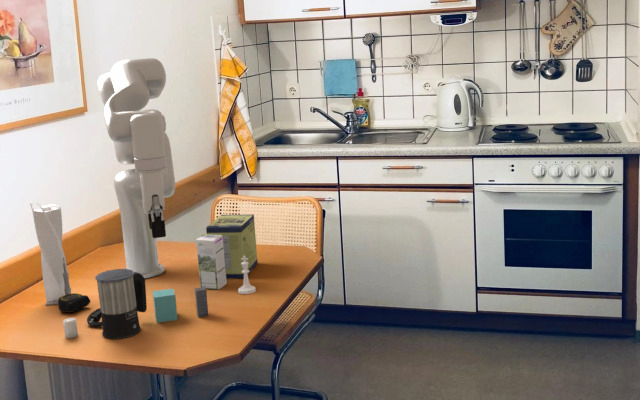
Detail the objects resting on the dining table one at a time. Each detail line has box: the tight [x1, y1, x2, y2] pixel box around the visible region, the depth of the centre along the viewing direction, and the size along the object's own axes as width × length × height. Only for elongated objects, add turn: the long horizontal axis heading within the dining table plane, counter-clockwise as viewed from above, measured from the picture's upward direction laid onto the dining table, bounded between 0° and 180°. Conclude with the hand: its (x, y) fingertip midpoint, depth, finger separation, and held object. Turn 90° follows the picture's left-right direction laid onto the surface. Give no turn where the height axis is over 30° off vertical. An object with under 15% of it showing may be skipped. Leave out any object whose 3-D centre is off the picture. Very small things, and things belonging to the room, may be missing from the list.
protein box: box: [205, 214, 258, 280], centre depth 241 cm, size 10×16×16 cm
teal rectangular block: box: [152, 288, 178, 324], centre depth 206 cm, size 5×5×7 cm
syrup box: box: [195, 234, 228, 290], centre depth 227 cm, size 6×6×14 cm
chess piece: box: [237, 256, 257, 295], centre depth 222 cm, size 5×5×10 cm
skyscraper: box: [29, 201, 72, 306], centre depth 222 cm, size 8×8×28 cm
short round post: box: [62, 317, 79, 339], centre depth 197 cm, size 3×3×4 cm
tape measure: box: [57, 292, 91, 313], centre depth 216 cm, size 7×7×4 cm
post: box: [194, 287, 210, 318], centre depth 206 cm, size 3×3×7 cm
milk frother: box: [86, 268, 147, 340], centre depth 199 cm, size 14×16×15 cm
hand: (157, 232), depth 201 cm, fingers open, 9 cm apart
